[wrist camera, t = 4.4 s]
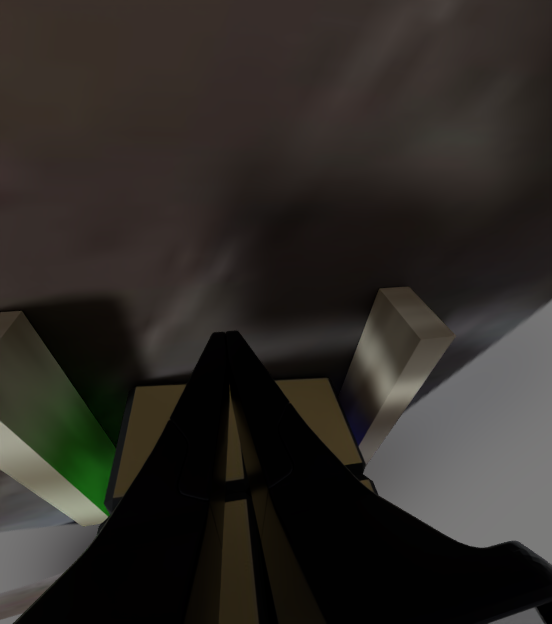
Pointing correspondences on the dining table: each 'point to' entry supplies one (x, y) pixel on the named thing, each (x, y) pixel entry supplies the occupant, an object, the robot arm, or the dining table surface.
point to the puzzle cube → (233, 481)
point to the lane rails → (100, 450)
